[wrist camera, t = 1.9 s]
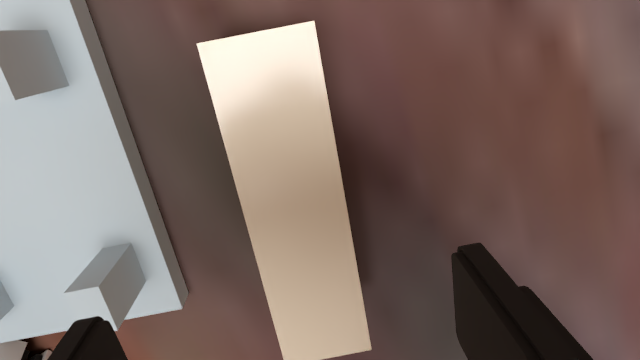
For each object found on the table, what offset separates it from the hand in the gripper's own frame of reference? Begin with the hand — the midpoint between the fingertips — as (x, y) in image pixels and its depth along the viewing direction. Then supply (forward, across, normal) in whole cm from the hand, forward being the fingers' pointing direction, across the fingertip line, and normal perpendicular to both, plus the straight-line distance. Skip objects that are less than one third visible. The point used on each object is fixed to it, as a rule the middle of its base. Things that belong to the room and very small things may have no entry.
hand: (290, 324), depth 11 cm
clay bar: (+13, 0, +1) cm, 13 cm away
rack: (+13, +14, -2) cm, 19 cm away
